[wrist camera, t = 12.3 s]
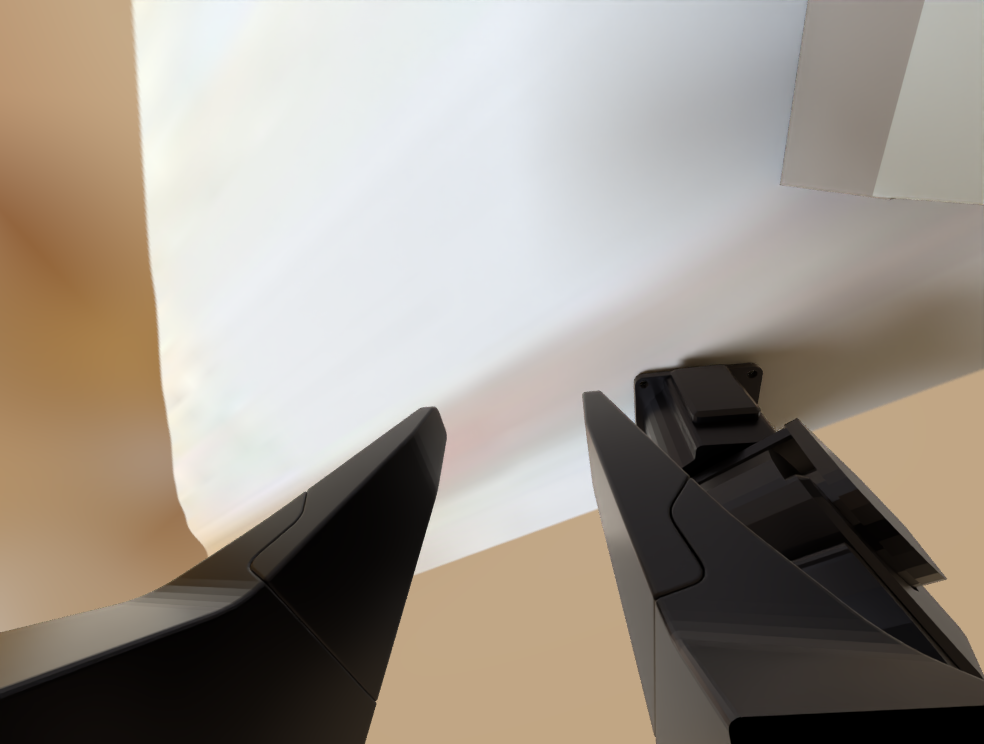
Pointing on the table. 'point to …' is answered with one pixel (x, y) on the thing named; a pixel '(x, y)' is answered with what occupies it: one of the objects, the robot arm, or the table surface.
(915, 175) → the rear flap
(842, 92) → the cabinet
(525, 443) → the table surface
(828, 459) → the robot arm
